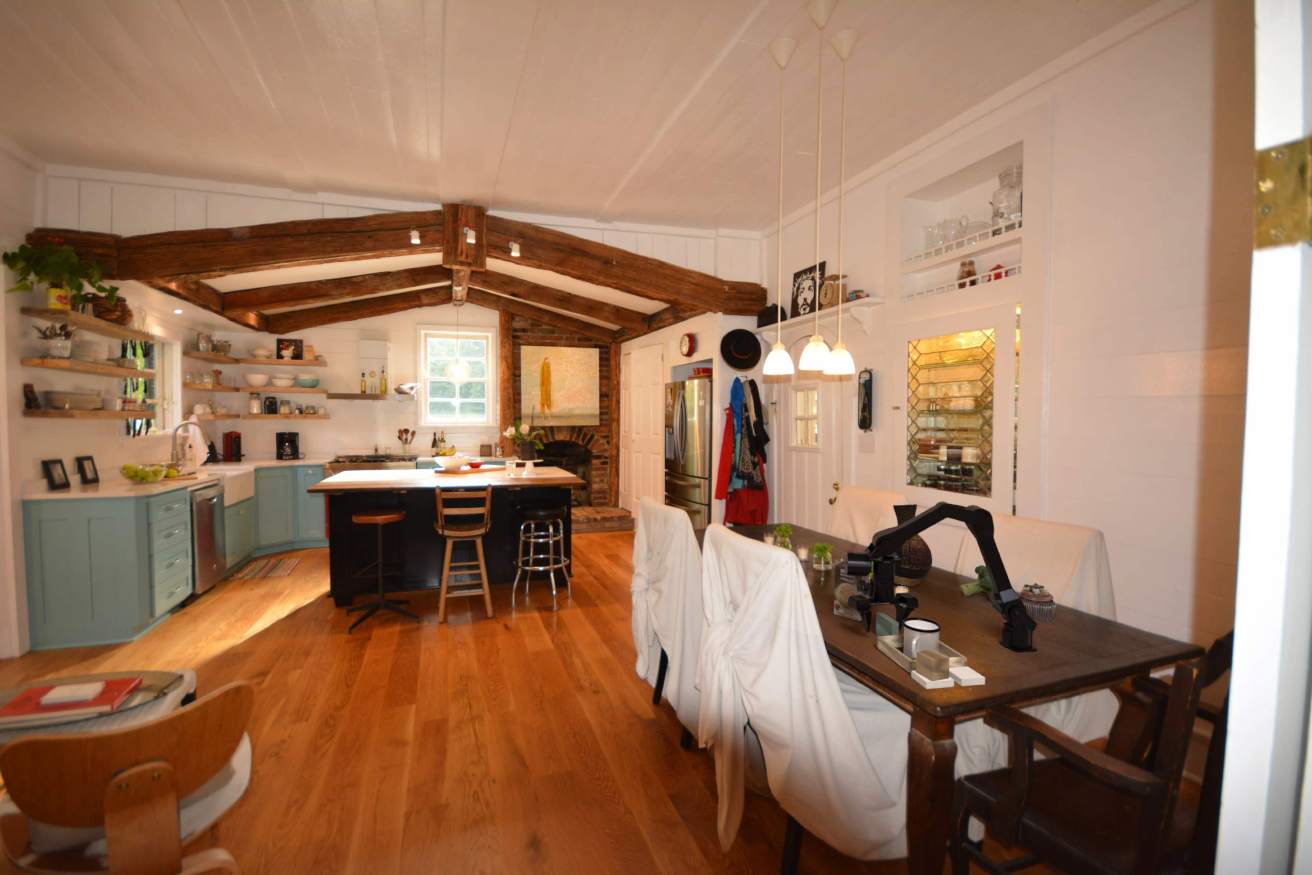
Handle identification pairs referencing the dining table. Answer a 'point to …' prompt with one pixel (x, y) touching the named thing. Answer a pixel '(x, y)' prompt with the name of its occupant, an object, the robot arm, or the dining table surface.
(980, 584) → the vegetable
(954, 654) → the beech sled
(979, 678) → the broken cream strip
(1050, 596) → the cupcake
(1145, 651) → the dining table surface
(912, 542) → the ceramic vessel
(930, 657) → the beige cube
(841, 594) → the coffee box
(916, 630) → the mug
